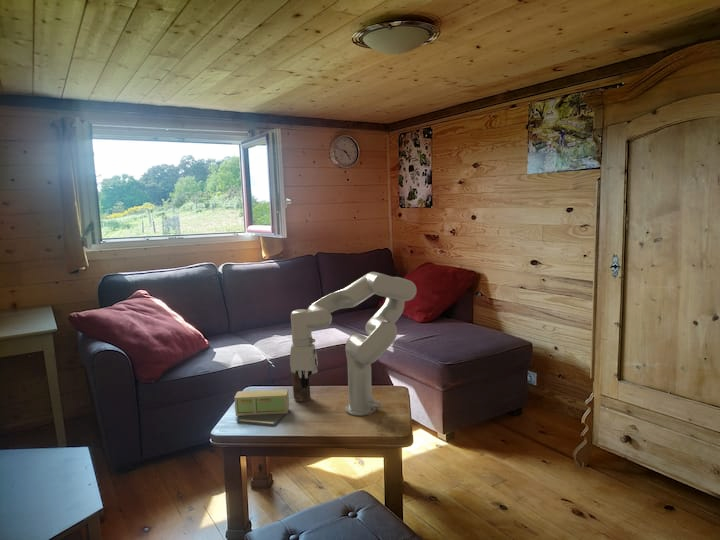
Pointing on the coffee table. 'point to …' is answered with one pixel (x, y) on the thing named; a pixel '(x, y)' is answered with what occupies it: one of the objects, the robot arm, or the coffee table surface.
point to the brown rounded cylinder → (300, 389)
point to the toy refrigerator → (261, 402)
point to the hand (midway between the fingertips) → (305, 386)
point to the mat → (261, 419)
